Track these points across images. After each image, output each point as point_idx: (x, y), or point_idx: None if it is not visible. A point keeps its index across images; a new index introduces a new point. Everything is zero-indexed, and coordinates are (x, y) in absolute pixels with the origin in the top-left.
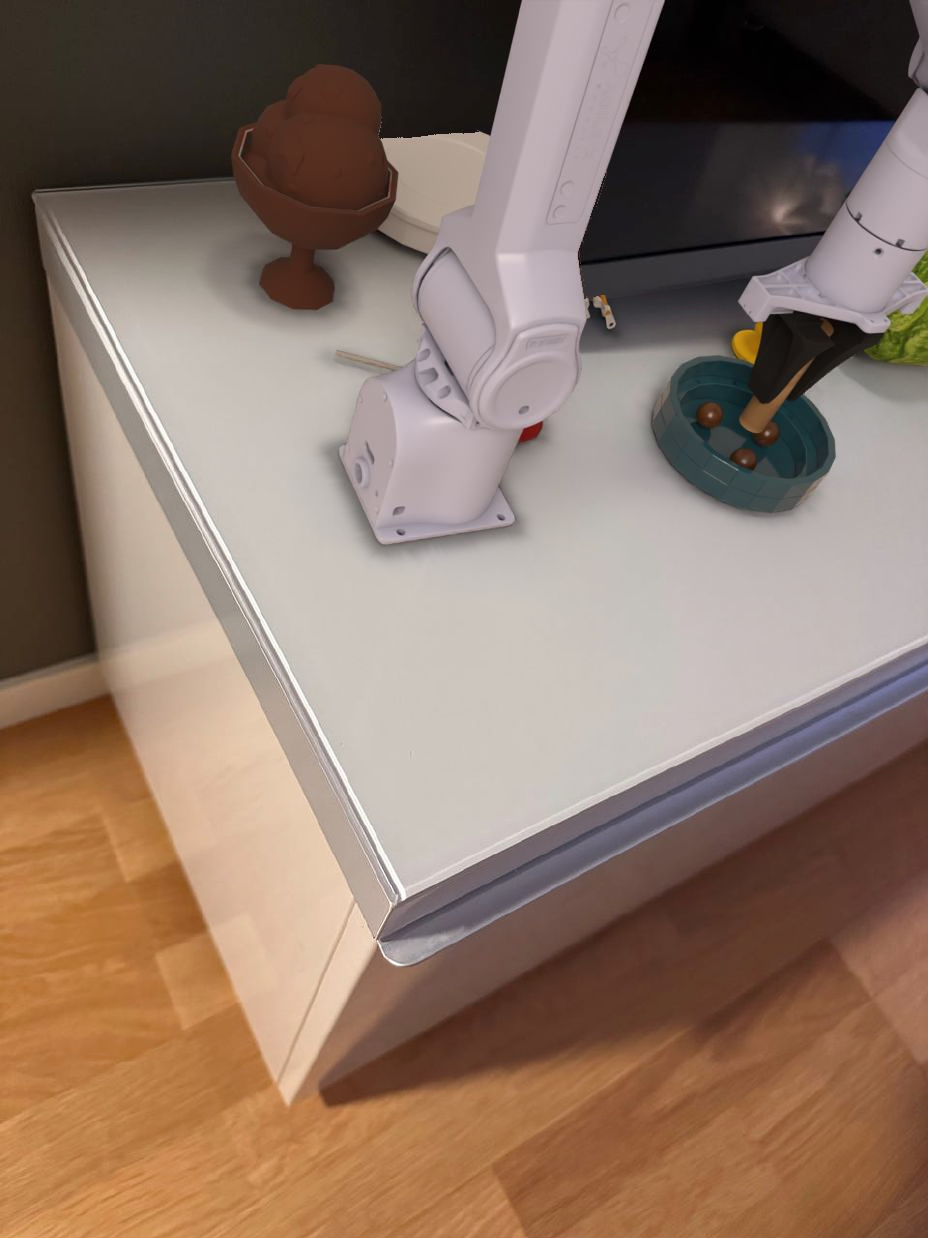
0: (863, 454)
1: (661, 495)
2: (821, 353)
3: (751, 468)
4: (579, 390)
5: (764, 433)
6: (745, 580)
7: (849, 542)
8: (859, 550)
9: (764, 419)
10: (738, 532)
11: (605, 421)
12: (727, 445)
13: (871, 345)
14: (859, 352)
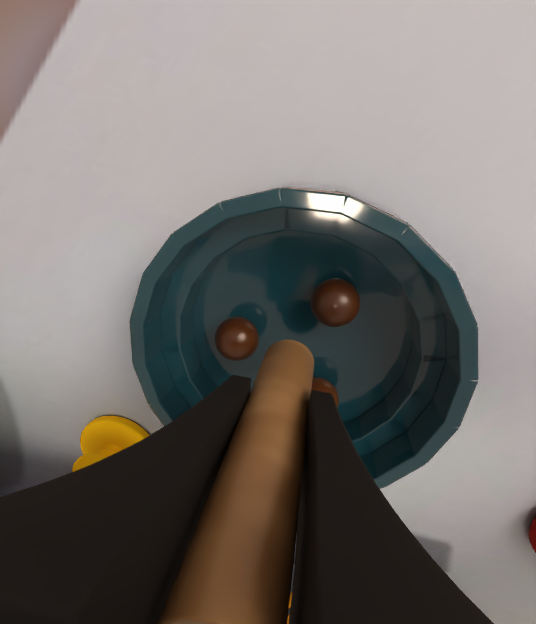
0: (56, 255)
1: (511, 299)
2: (195, 496)
3: (339, 282)
4: (459, 491)
5: (252, 337)
6: (530, 59)
7: (208, 85)
8: (200, 59)
9: (296, 358)
10: (431, 179)
11: (469, 441)
12: (307, 342)
13: (10, 507)
14: (70, 473)
